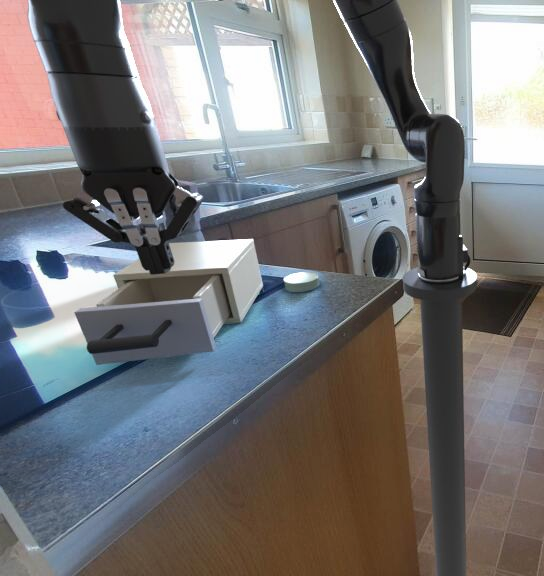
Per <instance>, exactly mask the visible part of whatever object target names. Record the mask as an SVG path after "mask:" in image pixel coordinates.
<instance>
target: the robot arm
mask: <svg viewBox="0 0 544 576" xmlns="http://www.w3.org/2000/svg"><path fill="white" fill-rule="evenodd" d="M332 1H333V3H334V6H335V7H336V9H337V12H338V14H339V16H340V18H341V19H342V21H343V23H344V24H343V25H345V27H346V30H347V31H348V34H349V35H350V37H351V39H352V40H353V43H354V44H355V46H356V48H357V49H358V51H359V53H360V55H361V57H362V58H363V60H364V63H365V65H366V66H367V68H368V70H369V72H370V75H371V77H372V78H373V80H374V82H375V84H376V86H377V88H378V90H379V91H380V93H381V96H382V97H383V99H384V102H385V104H386V106H387V108H388V111H389V113H390V115H391V118H392V120H393V123H394V125H395V127H396V130H397V132H398V135H399V137H400V140H401V143H402V144H403V146H404V148H405V150H406V152H407V153H408V155H409V156H411V157H412V159H414V160H416V161H417V162H420V163H425V175H424V178H423V179H422V180H421V181H418V182H417V183H416V184H414V187H413V196H414V197H413V198H414V215H415V216H414V217H415V229H416V230H415V231H416V248H417V264H418V265H417V267H416V268H417V271H418V275H419V279H420V280H421V281H423V282H426V283H430V284H447V283H452V282H455V281H458V280H463V279H464V277H463V270H465V271H466V270H467V268H469V266H470V265H471V256H470V255H469V250H468V248H467V247H466V246H465V245H464V237H463V236H462V234H461V233H462V231H461V230H462V229H461V192H462V188H463V186H464V181H465V157H466V156H465V155H466V141H465V140H466V139H465V133H464V130H463V127H462V125H461V123H460V122H459V120H458V119H457V118H456V117H454V116H453V115H450V114H446V113H431V112H430V110H429V108H428V107H427V105H426V103H425V101H424V99H423V97H422V95H421V92H420V90H419V88H418V85H417V82H416V78H415V72H414V51H413V40H412V39H413V38H412V35H411V30H410V27H409V24H408V22H407V19H406V16H405V14H404V13H403V10H402V7H401V5H400V3H399V0H332ZM26 12H27V13H26V18H27V23H28V27H29V31H30V33H31V37H32V41H33V42H34V45H35V47H36V50H37V54H38V56H39V58H40V61H41V63H42V66H43V69H44V71H45V73H46V77H47V81H48V85H49V91H50V94H51V95H50V96H51V99H52V102H53V105H54V108H55V110H56V111H55V112H56V113H55V114H56V117H57V118H58V120H59V122H60V123H61V126H62V128H63V131H64V133H65V136H66V139H67V142H68V144H69V147H70V149H71V152H72V154H73V157H74V160H75V162H76V165H77V167H78V169H79V170H80V172H81V175H82V178H81V182H80V186H81V189H82V190H81V191H80V192H79V193H78V194H77V195H75V196H74V197H73V198H71V199H69V200H67V201H64V202H63V204H62V207H63V209H64V210H65V211H67V212H68V213H69V214H71V215H73V216H74V217H75V218H77V219H79V220H80V221H82V222H83V223H84V224H86V225H87V226H89V227H90V228H92V229H94V231H96V232H98V233H99V234H101V235H103V236H104V237H106V238H107V239H108V240H110V242H112V243H127V244H130V245H132V246H133V247H134V248H135V250H136V253H137V256H138V259H140V262H141V265H142V267H143V268H144V269H145V270H146V271H147V270H149V272H150V274H151V275H154V274H166V273H167V272H169V271H170V270H171V267H172V266H173V265H174V262H175V261H174V258H173V255H172V251H171V248H170V245H169V240H170V239H174V238H176V237H177V236H179V235H180V234H181V233H183V232H184V230H185V228H186V227H187V225H188V224H189V222H190V220H191V219H192V217H193V216H194V214H195V212H196V211H197V209H198V208H199V207H200V206H201V205H202V203H203V202H204V196H203V195H202V194H201V193H199V192H198V193H194V194H192V193H191V192H189V191H187V190H185V189H183V188H181V187H179V186H178V182H177V180H178V179H177V178H176V177H174V175H173V174H172V173H171V171H170V168H169V164H168V160H167V158H166V154H165V152H164V147H163V144H162V140H161V137H160V133H159V130H158V127H157V123H156V121H155V117H154V113H153V111H152V107H151V103H150V101H149V99H148V96H147V94H146V91H145V90H144V88H143V86H142V82H141V80H140V76H139V73H138V70H137V67H136V64H135V60H134V57H133V53H132V51H131V47H130V43H129V41H128V39H127V36H126V33H125V31H124V25H123V18H122V17H123V16H122V7H121V1H120V0H27V11H26ZM173 196H175V198H176V200H175V204H176V206H177V207H179V209H178V211H177V213H176V214H175V216H174V218H173V219H172V221H171V222H170V224H169V226H168V227H167V228H166V223H165V221H166V215H165V210H166V209H167V207H168V205H169V204H170V202H171V200H172V198H173ZM101 206H103V207H104V208H105V209H106V210H108V211H109V212H111V213H112V214H113V215H114V216H115V217H113V216H112V215H111V214H109V213H108V212H106V211H105V210H104V209H102V207H101ZM464 264H465V265H464ZM463 267H464V269H463Z"/></svg>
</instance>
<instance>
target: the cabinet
mask: <svg viewBox="0 0 544 576" xmlns="http://www.w3.org/2000/svg"><path fill="white" fill-rule="evenodd" d="M169 245H170V248H171V251H172V255H173V258H174V261H175V262H174V265H173V266H172V267H171V270H170V271H169V272H167V273H166V274H154V275H151V274H150V272H149V270H147V271H146V270H145V269H144V268H143V267H142V265H141V262H140V259H139V258H137V259H136V260H134V261H133V262H131V263H130V264H128V265H126V266H125V267H123V268H122V269H120V270H118V271H117V272H115V273H114V274H113V275H112V276H113V278H114V281H115V284H116V286H117V290H118V289H119V288H120V287H122V286H123V285H125V284H126V283H128V282H129V281H130V280H133V279H148V278H163V277H177V276H192V275H206V274H221V273H222V276H223V279H224V283H225V287H226V291H227V295H228V299H229V303H230V307H231V311H232V312H231V314H230V315H229V317H228V318H227V319H226V321H225V322H224V324H223V325H229V324H230V325H232V324H241V323H242V322H243V320H244V319H245V317H246V315H247V314H248V312H249V310H250V309H251V307H252V305H253V304H254V302H255V300H256V298H257V297H258V295H259V294H260V292H261V290H262V289H263V287H264V282H263V279H262V272H261V269H260V265H259V260H258V256H257V250H256V245H255V242H254V239H253V238H248V239H247V238H246V239H229V240H228V239H227V240H207V241H206V240H205V241H203V242H182V243H169Z"/></svg>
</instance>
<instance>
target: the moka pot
mask: <svg viewBox="0 0 544 576" xmlns="http://www.w3.org/2000/svg"><path fill="white" fill-rule="evenodd" d="M176 180H177V182H178V186H179V187H181V188H183V189H185V190H187V191H189V192H191V193H192V194H194V193H199V191H198V190H199V188H198V184H197V183H196V182H191V181H186V180H180V179H176ZM175 200H176V198H175V196H173V198H172V200H171V202H170V204H169V205H168V207H167V209H166V210H165V215H166V221H165V223H166V228H167V227H168V226H169V224H170V222H171V221H172V219H173V218H174V216H175V214H176V213H177V211H178V209H179V207H177V206H176V204H175ZM200 209H201V208H200V206H199V208H198V209H197V211H196V212H195V214H194V216H193V217H192V219H191V220H190V222H189V224H188V225H187V227H186V228H185V230H184V232H183V233H181V234H180V235H179V236H177V237H176V238H174V239H170V240H169V243H182V242H203V241H206V239H205V237H204V235H203V232H202V231H201V223H200V221H201V219H202V217H201V210H200Z"/></svg>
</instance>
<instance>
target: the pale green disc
mask: <svg viewBox="0 0 544 576" xmlns="http://www.w3.org/2000/svg"><path fill="white" fill-rule="evenodd" d="M283 284H284V289H285V291H287V292H290V293H303V292H309V291H313V290H315V289H317V288H318V287H320V284H321V283H320V278H319V274H317V273H315V272H310V271H309V272H308V271H303V272H297V273H292V274H289V275H287V276H285V277H284V278H283Z"/></svg>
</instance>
